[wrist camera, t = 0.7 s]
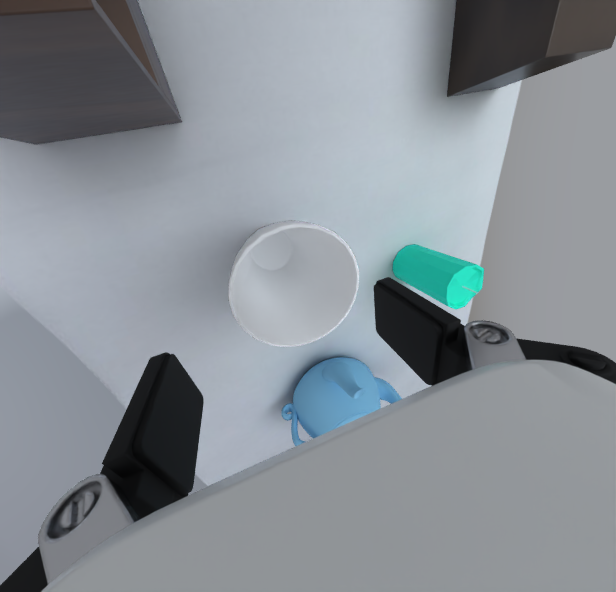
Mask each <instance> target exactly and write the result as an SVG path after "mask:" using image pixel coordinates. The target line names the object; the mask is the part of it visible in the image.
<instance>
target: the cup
mask: <svg viewBox="0 0 616 592" xmlns="http://www.w3.org/2000/svg"><path fill="white" fill-rule="evenodd" d="M358 288H359V269H358V265H357V261H356V257H355V255H354V253H353V252H352V250H351V248H350V247H349V245H348V244H347V242H346V241H344V240H343V239H342V238H341V237H340V236H339V235H338V234H336V233H335V232H334V231H331V230H329V229H327V228H325V227H323V226H320V225H317V224H313V223H308V222H301V221H293V220H290V221H284V222H277V223H273V224H270V225H268V226H264V227H262V228H260V229H258V230H257V231H256V232H255V233H254V234H253V235H252V236H251V237H249V238H248V239H247V240H246V242H245V243H244V245H243V246H242V248H241V249H240V251H239V252H238V253H237V255H236V258H235V261H234V264H233V267H232V270H231V274H230V278H229V296H228V300H229V303H230V307H231V310H232V313H233V316H234V318H235V319H236V320H237V322H238V323H239V325H240V326H241V328H242V329H243V330H244V331H246V332H247V333H248V334H249V335H251V336H252V337H253V338H254V339H256V340H259V341H261V342H263V343H266V344H268V345H274V346H280V347H293V346H301V345H304V344H308V343H311V342H314V341H316V340H318V339H320V338H322V337H324V336H326V335H327V334H329V333H330V332H331V331H332V330H334V329H335V328H336V327H337V326H339V324H340V323H341V322H342V321H343V320H344V318H345V317H346V316H347V315H348V313H349V311H350V309H351V308H352V306H353V304H354V302H355V299H356V295H357V291H358Z"/></svg>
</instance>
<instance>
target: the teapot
mask: <svg viewBox="0 0 616 592" xmlns="http://www.w3.org/2000/svg"><path fill="white" fill-rule="evenodd" d="M380 399H381V400H385V401H388V402H389V403H391V404H392V403H394V402H397V401H399V400H401V399H402V398H401V397H400V396H399V394H398V393H397V392H396V391H395V389H394V388H393V387H392V386H391V385H390V384H389V383H388V382H386V381H385V380H382V379H380V378H376V377H374V376H373V374H372V372H371V371H370V369H369V368H368V367H367V366H366V365H365V364H364V363H362V362H361V361H359V360H356V359H353V358H345V357H338V358H331V359H327V360H325V361H322V362H320V363H318V364H316V365H315V366H313V367H312V368H311V369H310V370H308V371H307V372H306V373H305V375H304V376H303V377H302V379H301V380H300V382H299V383H298V385H297V387H296V389H295V392H294V396H293V404H291V403H289V404H287V405H285V406H284V407H283V408H282V417H283V419H285V420H287V421H288V420H291V419H292V427H291V431H292V439H293V442H294V444H295V446H298V445H300V444H302V443H305V441H301V440H300V439H299V436H298V431H297V422H298V420H299V422H300V424H301V425H302V427H303V428H304V429H305V431H306V432H307V433H308V434H309V435H310V436H311V437H312V438H313V439H314V438H316V437H318V436H320V435H322V434H325V433H327V432H329V431H331V430H334V429H336V428H338V427H340V426H343V425H345V424H347V423H349V422H351V421H354V420H356V419H358V418H360V417H363V416H365V415H367V414H369V413H372V412H374V411H376V410H379V409H380ZM288 412H292V413H291V414H287V413H288Z"/></svg>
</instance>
